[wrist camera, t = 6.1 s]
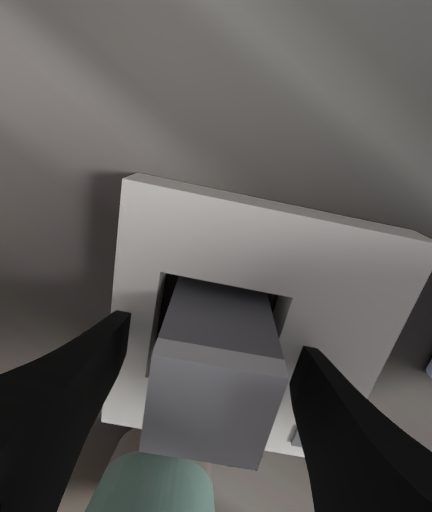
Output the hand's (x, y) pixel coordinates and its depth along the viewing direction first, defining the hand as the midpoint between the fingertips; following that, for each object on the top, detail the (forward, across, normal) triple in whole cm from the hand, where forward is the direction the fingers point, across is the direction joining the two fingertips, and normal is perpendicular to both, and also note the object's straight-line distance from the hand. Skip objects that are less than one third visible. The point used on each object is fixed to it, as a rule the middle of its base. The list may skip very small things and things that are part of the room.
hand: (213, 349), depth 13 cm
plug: (+3, 0, 0) cm, 3 cm away
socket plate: (+3, -2, 0) cm, 3 cm away
